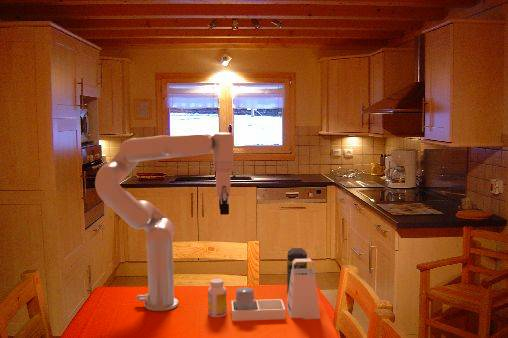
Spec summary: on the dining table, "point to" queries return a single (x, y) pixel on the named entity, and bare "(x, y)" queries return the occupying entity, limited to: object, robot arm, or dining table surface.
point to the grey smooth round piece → (244, 299)
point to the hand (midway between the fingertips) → (224, 211)
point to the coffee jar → (296, 254)
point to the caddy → (260, 310)
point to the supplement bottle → (217, 299)
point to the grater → (303, 293)
